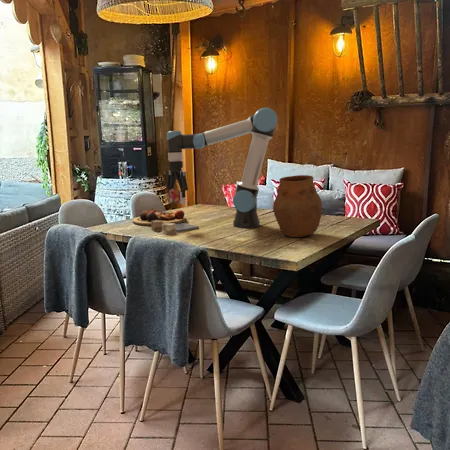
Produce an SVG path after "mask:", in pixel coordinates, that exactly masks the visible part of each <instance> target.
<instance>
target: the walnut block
mask: <svg viewBox="0 0 450 450" xmlns="http://www.w3.org/2000/svg"><path fill="white" fill-rule="evenodd" d="M162 224H163V221H161V220H155V221H151V226H150V228H151V231H153V232H162Z"/></svg>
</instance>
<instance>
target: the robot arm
mask: <svg viewBox="0 0 450 450" xmlns="http://www.w3.org/2000/svg"><path fill="white" fill-rule="evenodd" d="M277 115H278V114H277V113H276V111H274V109H272V108H269V107H262V108H259V109H258V110H256V112H255V113H254V114H253V115H251V116H249V117H248V118H246V119H243V120H241V121H237V122H234V123H229V124H227V125H224V126H220V127H218V128H214V129H210V130H206V131H204V132H200V133H192V134H189V133H188V134H182V131H181V130H172V131H171V130H169V131H168V132H167V133H166V142H167V143H166V145H167V159H168V168H169V169H170V170H168V171H166V189H167V190H168V191H169V192H168V194H170V192H171V191H170V190H171V189H173V190H174V189H175V188H174V187H175V185H176V184H175V183H176V181H177V182H178V186H179V188H180V190H179V191H180V201H181V203H180V205H183V204H186V200H185V199H186V192H187V191H188V190H189V187H188V183H187V182H188V181H187V175H186V174H187V172H186V171H183V170H182V169H183V167H184V165H183V163H184V162H183V150H195V149H196V150H200V149H204V148H205V147H207V146H210V145H214V144H218V143H221V142H225V141H228V140H231V139H235V138H239V137H241V136H245V135H248V134H251V136H252V139H251V140H250V141H251V143H250V145H249V150H248V154H247V157H246V162H245V166H244V168H243V173H242V177H241V181H239V182H238V183H237V185H236V186H235V187H236V188H235V193H234V195H233V197H232V204H233V206H234V208H235V210H236V212H235V215H234V219H233V221H232V223H233V224H232V225H233V227H236V228H241V229H242V228H243V229H245V228H246V229H250V228H258V227H260V225H261V224H260V223H261V221H260V219H259V215H258V210H257V209H258V194H259V190H260V188H259V186H258V182H259V179H260V175H261V171H262V167H263V164H264V160H265V155H266V153H267V149H268V145H269V142H270V140H271V139H273V138H274V134H275V131H276V126H277V124H278V116H277ZM169 201H170V202H169V203H171V202H172V199H170V198H169ZM173 203H176V202H175V201H174V202H173ZM171 204H172V203H171Z"/></svg>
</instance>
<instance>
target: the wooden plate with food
mask: <svg viewBox="0 0 450 450" xmlns="http://www.w3.org/2000/svg"><path fill="white" fill-rule="evenodd" d="M155 220H161V221H163V224H165V223H174V224H181V223H185V222H186V221H187V217H186V216H185V212H184V211H183V210H181V209H179V210H176V211H170V212H163V211H157V210H156V209H154V208H151V209H147V210H143V211H142V212H141V213H140V214H139V217H135V218H133V219H132V223H133V224H134V225H136V226H142V227H151V221H155Z"/></svg>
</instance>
